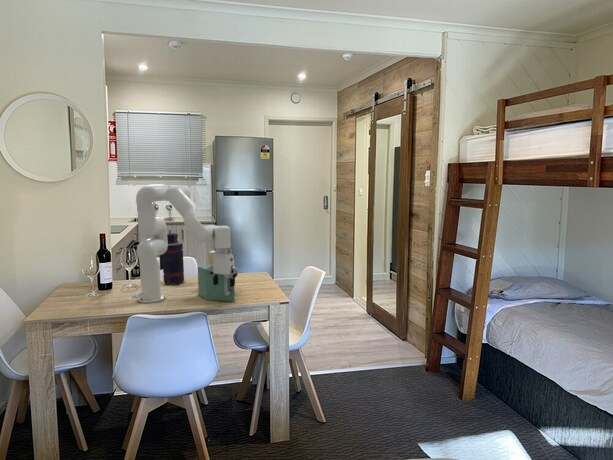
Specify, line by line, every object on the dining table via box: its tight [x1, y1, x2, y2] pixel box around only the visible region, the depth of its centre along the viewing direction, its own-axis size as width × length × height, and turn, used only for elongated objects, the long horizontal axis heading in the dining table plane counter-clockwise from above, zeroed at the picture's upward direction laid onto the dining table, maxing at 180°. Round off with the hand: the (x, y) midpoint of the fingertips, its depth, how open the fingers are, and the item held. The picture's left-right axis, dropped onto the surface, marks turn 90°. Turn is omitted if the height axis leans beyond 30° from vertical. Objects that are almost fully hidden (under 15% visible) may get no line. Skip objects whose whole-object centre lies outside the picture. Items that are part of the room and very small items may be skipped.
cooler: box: [197, 264, 213, 300], centre depth 239 cm, size 10×16×16 cm, turn 126°
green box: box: [205, 270, 236, 303], centre depth 225 cm, size 6×16×16 cm, turn 71°
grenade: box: [158, 232, 185, 286], centre depth 267 cm, size 14×12×30 cm
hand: (224, 285), depth 219 cm, fingers open, 9 cm apart
